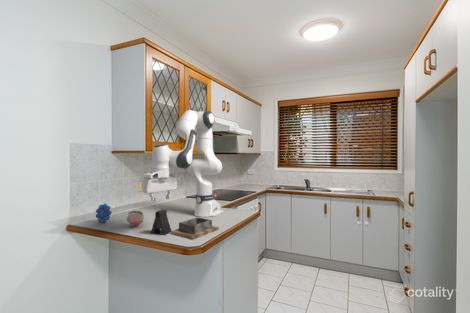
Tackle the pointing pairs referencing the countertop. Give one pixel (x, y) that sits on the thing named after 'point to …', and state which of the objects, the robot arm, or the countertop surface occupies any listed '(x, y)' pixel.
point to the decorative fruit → (135, 218)
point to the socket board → (195, 228)
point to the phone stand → (161, 223)
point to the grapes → (103, 213)
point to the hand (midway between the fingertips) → (160, 199)
